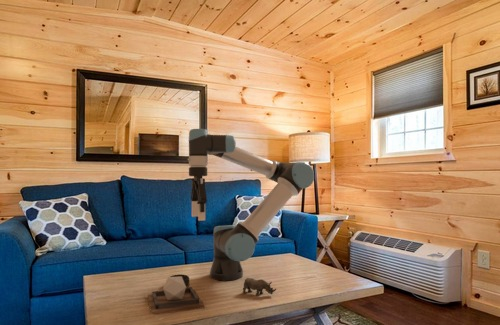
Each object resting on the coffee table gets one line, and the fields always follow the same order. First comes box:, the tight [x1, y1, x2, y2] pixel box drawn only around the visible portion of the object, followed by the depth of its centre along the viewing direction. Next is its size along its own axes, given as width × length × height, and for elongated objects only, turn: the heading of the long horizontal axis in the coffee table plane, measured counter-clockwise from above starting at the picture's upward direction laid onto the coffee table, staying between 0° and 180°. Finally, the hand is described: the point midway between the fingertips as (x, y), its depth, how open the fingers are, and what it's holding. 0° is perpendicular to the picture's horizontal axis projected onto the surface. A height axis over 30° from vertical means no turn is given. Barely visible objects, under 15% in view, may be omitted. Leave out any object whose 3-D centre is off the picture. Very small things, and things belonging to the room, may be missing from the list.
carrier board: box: [147, 286, 205, 315], centre depth 129 cm, size 18×18×2 cm
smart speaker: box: [169, 274, 190, 288], centre depth 147 cm, size 9×9×4 cm
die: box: [162, 276, 187, 301], centre depth 129 cm, size 8×9×10 cm
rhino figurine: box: [242, 277, 277, 297], centre depth 137 cm, size 4×14×6 cm, turn 66°
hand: (198, 218), depth 144 cm, fingers open, 13 cm apart
